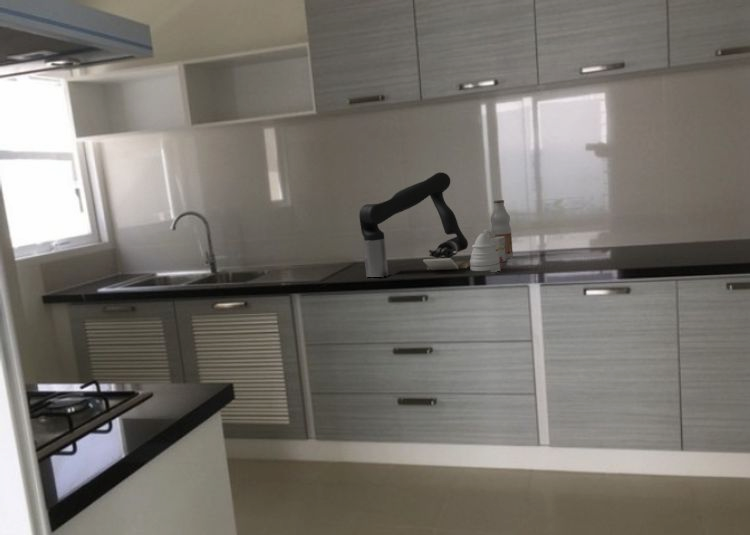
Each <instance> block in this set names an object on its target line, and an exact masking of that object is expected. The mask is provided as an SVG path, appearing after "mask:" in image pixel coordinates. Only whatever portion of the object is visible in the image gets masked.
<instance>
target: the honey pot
mask: <svg viewBox="0 0 750 535" xmlns="http://www.w3.org/2000/svg"><path fill="white" fill-rule="evenodd" d="M490 230H491V229H484V230H483V233H480V234H479V235H478V236H477V238H476V239H475V242H474V244H473V245H472V246H471V247H472V251H471V255H470V258H469V259H470V260H469V261H470V266H469V269H470V271H473V272H484V271H485V272H486V271H487V272H488V271H489V272H497V271H500V272H501V263H500V262H501V260H500V259H499V257H498V254H497V252H496V250H495V248H494V246H495V245H496V244H495V243H492V242H491V240H490V239H489V232H491V231H490ZM497 273H498V272H497Z"/></svg>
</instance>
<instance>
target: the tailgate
mask: <svg viewBox="0 0 750 535" xmlns="http://www.w3.org/2000/svg"><path fill="white" fill-rule="evenodd" d="M454 262H455V261H454V260H453V259H452V257H451V258H426V259H424V258H423V263H424V264H425V265H426V267H427V266H428V267H429V268H430V269H431V270H432V271H444V270H445V271H447V270H459V269H460V268H459V267H458V266H457V265H456V264H455V263H454Z"/></svg>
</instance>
